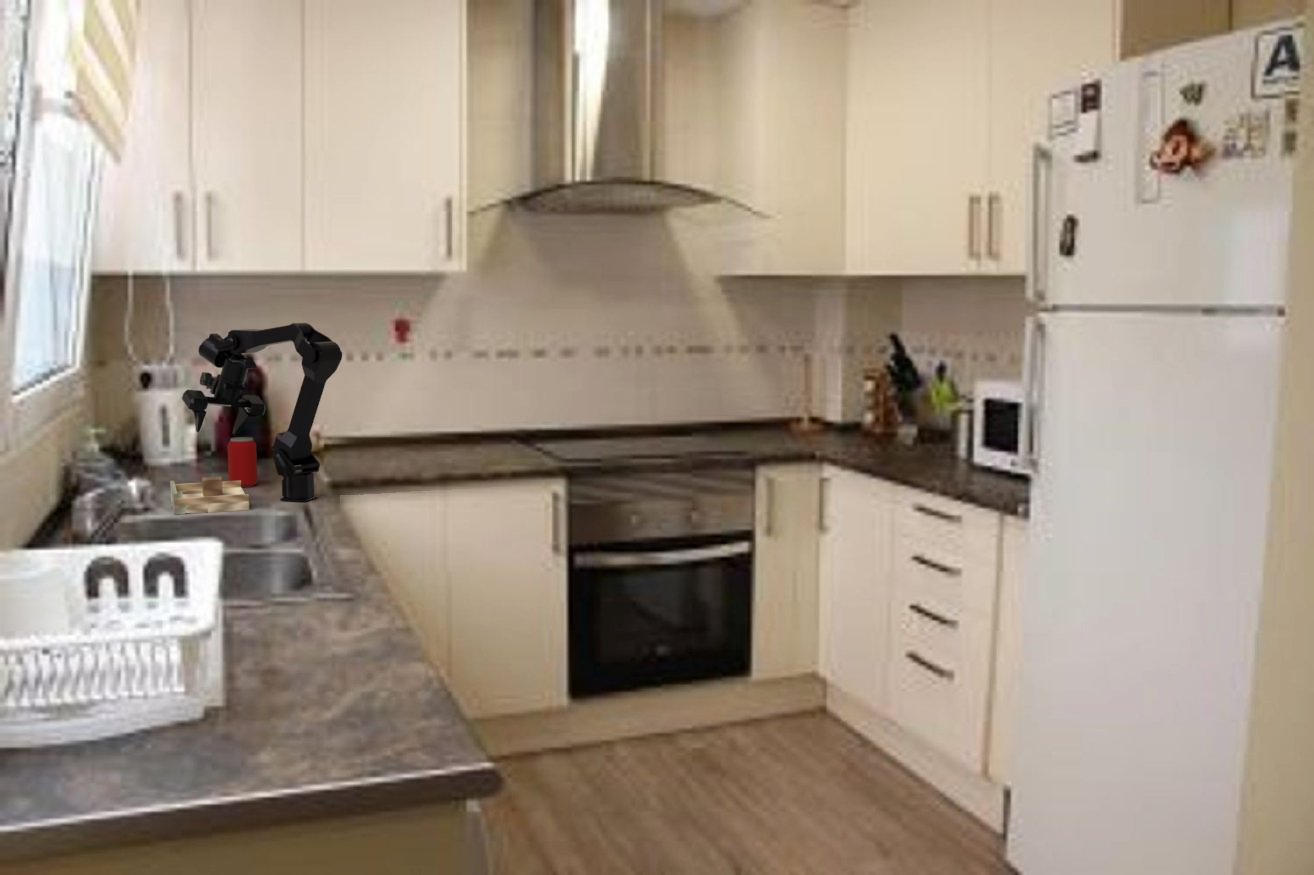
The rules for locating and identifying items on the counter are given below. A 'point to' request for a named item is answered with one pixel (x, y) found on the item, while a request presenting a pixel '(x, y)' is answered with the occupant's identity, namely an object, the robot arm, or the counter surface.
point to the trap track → (208, 498)
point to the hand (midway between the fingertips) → (215, 432)
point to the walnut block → (212, 486)
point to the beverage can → (242, 461)
